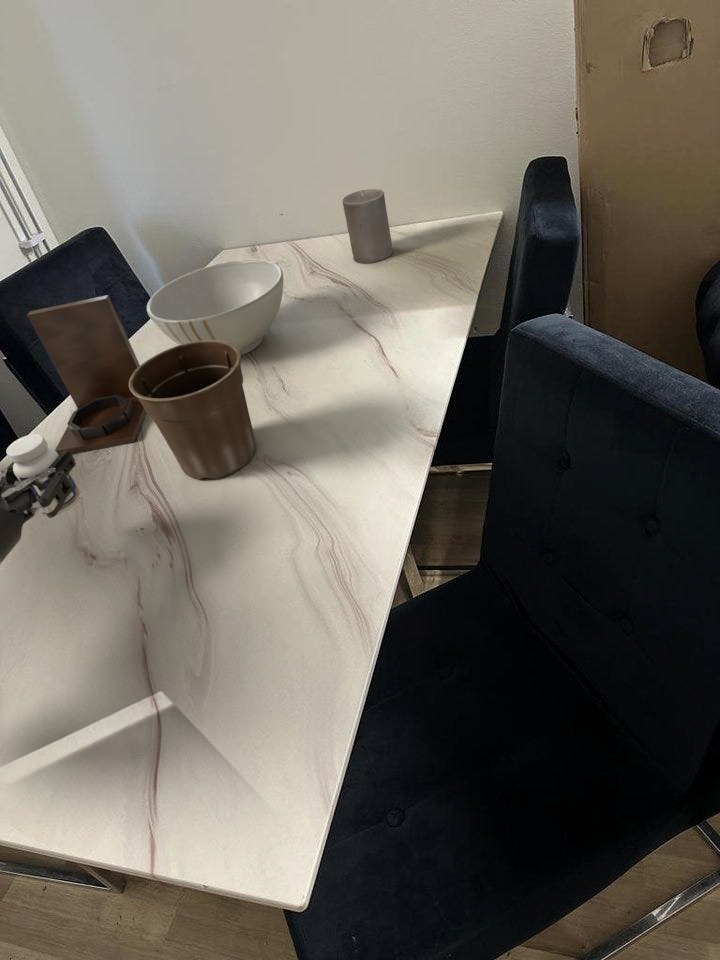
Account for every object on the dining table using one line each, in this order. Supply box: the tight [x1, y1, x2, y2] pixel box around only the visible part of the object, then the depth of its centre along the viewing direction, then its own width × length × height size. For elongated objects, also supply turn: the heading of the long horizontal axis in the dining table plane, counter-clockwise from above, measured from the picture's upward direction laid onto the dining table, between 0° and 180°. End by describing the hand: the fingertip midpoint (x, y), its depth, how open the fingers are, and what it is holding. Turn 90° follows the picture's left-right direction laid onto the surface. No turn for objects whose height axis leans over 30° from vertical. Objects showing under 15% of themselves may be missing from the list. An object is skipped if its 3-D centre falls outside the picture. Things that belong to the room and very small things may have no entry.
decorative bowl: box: [146, 259, 284, 356], centre depth 131 cm, size 27×27×12 cm
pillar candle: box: [342, 188, 394, 264], centre depth 153 cm, size 10×10×15 cm
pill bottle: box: [5, 433, 81, 517], centre depth 86 cm, size 6×6×10 cm
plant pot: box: [129, 340, 257, 481], centre depth 99 cm, size 16×16×16 cm
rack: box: [26, 294, 148, 455], centre depth 113 cm, size 14×15×20 cm
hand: (49, 456), depth 87 cm, fingers closed on pill bottle, 5 cm apart
